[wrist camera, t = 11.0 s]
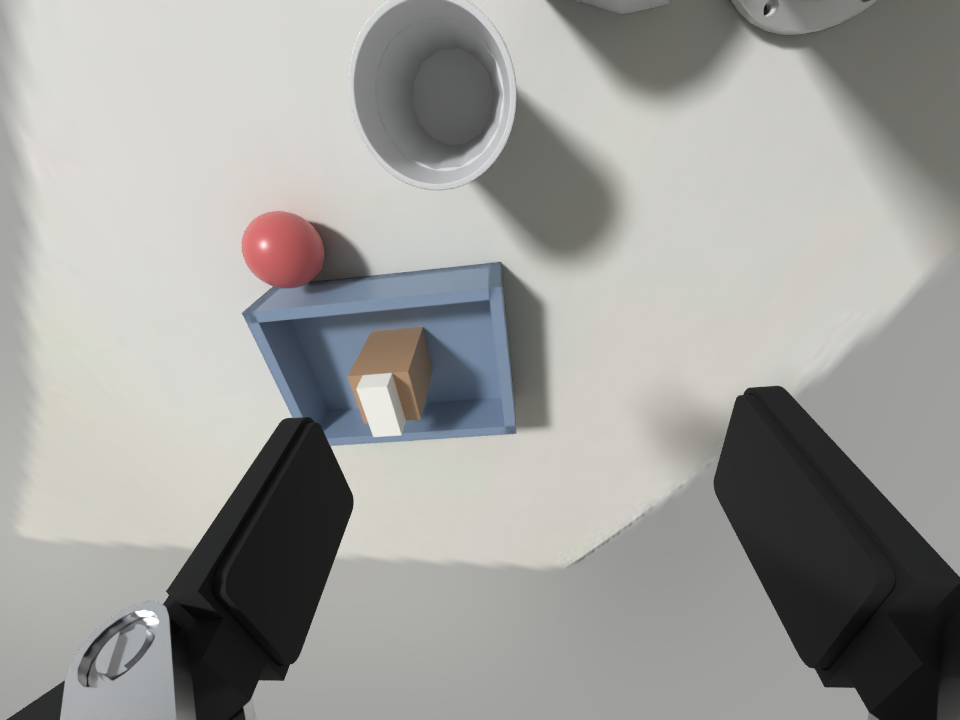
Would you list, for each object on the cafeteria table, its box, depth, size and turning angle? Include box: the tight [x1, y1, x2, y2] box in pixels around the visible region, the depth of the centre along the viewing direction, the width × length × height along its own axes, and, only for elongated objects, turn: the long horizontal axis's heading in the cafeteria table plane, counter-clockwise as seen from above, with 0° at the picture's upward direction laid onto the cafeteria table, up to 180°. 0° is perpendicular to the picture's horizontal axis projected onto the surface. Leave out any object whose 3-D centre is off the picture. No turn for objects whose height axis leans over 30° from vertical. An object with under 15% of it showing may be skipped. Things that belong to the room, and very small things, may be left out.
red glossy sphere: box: [242, 211, 324, 289], centre depth 33 cm, size 6×6×6 cm
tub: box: [242, 262, 516, 446], centre depth 39 cm, size 21×15×6 cm
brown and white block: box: [347, 326, 433, 437], centre depth 36 cm, size 5×5×9 cm
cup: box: [348, 0, 517, 190], centre depth 24 cm, size 8×8×12 cm
